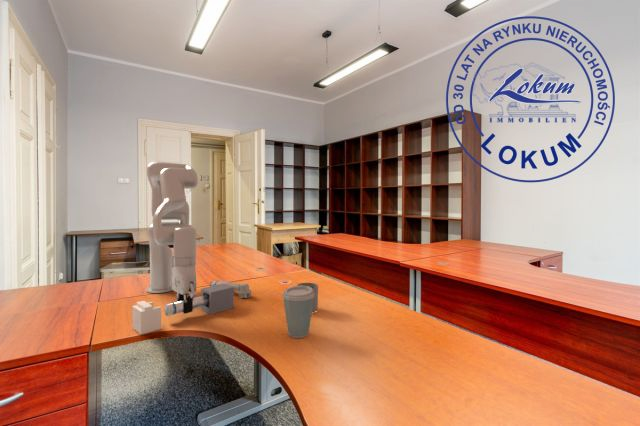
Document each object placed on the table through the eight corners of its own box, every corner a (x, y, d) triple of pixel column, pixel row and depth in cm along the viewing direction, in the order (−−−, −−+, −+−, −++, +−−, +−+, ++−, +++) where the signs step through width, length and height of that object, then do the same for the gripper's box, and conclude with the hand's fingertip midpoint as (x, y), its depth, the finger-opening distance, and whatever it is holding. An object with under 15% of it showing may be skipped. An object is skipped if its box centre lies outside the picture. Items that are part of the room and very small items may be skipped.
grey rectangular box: (201, 309, 123) (201, 288, 123) (224, 303, 131) (224, 283, 131) (210, 314, 119) (210, 292, 118) (233, 307, 126) (233, 287, 126)
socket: (132, 327, 106) (132, 303, 105) (152, 322, 110) (152, 298, 110) (140, 334, 101) (140, 308, 100) (161, 328, 105) (161, 304, 105)
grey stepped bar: (217, 279, 155) (253, 280, 140) (218, 293, 154) (254, 296, 140) (208, 281, 150) (244, 283, 136) (209, 295, 150) (245, 298, 136)
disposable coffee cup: (301, 344, 96) (302, 296, 95) (274, 335, 102) (275, 290, 101) (319, 332, 105) (320, 288, 104) (294, 324, 111) (294, 282, 110)
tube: (164, 314, 111) (164, 303, 111) (220, 300, 128) (220, 290, 128) (169, 317, 109) (169, 305, 108) (225, 302, 125) (225, 292, 125)
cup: (320, 308, 128) (321, 284, 127) (311, 315, 120) (312, 289, 120) (302, 305, 131) (303, 281, 131) (292, 311, 124) (293, 286, 123)
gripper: (164, 259, 117) (164, 307, 118) (185, 266, 106) (185, 320, 107) (184, 256, 122) (184, 302, 123) (206, 263, 111) (206, 314, 112)
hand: (184, 310), depth 115 cm, fingers closed on tube, 4 cm apart
